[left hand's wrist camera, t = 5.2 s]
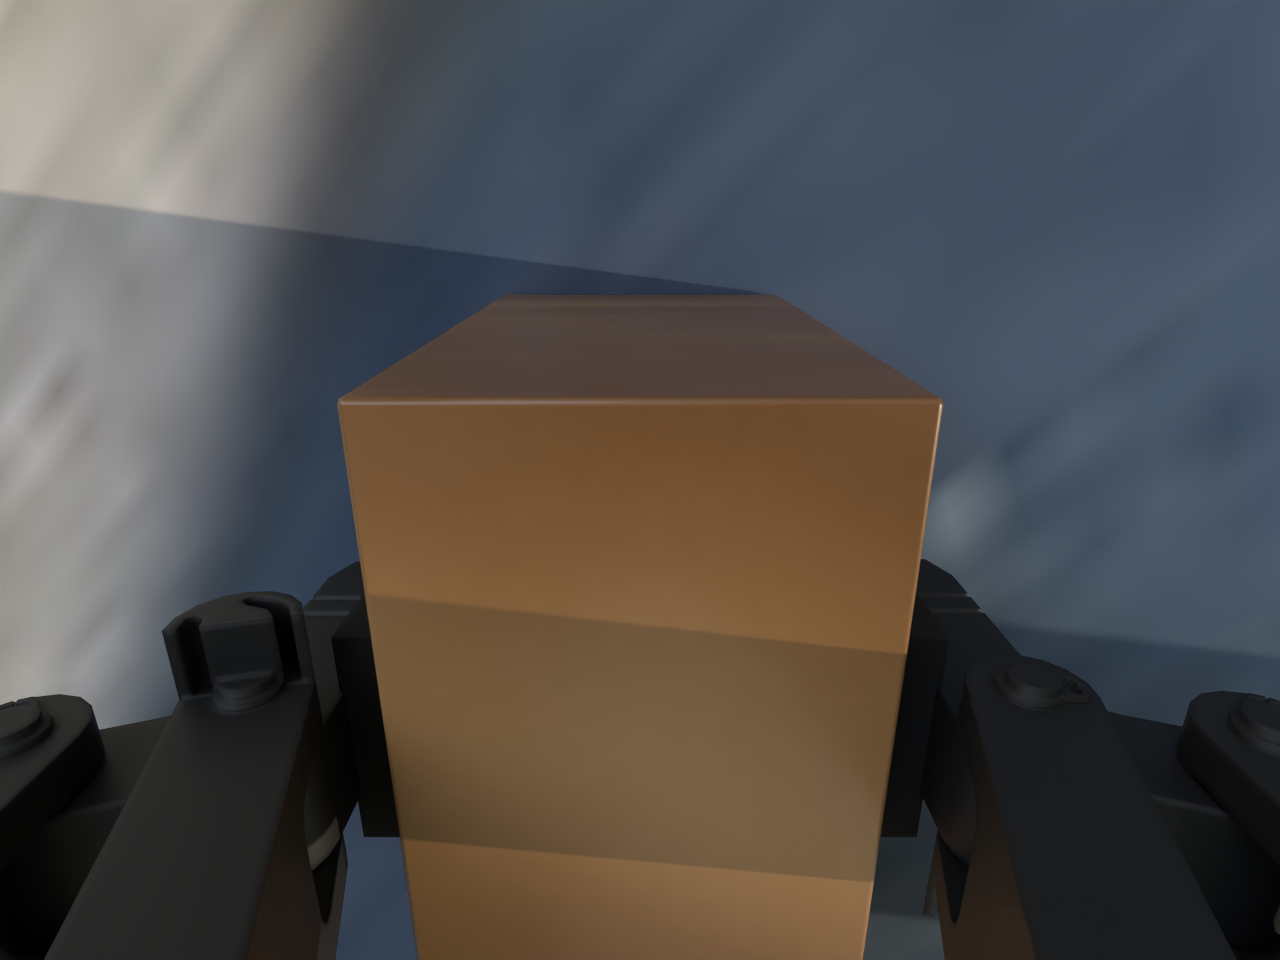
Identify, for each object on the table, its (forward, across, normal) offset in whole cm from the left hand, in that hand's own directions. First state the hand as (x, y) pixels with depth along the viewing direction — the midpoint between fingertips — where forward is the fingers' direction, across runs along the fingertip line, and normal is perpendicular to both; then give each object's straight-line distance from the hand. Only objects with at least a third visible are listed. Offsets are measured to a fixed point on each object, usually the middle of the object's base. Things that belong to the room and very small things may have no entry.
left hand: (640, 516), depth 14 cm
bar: (+1, 0, -32) cm, 32 cm away
